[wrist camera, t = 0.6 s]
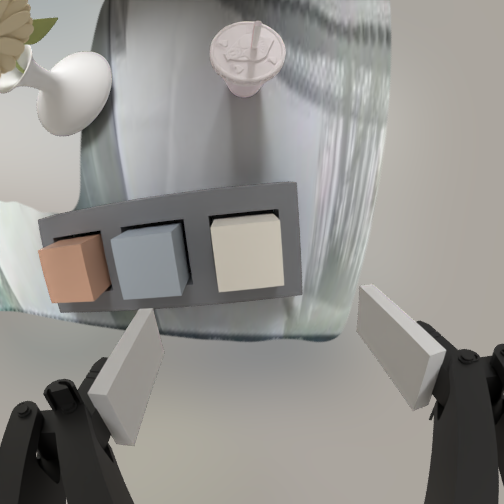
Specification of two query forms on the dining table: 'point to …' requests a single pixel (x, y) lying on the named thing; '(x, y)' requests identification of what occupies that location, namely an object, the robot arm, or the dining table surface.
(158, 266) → the key slate
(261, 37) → the smoothie
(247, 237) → the key cream
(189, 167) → the dining table surface
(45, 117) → the flower in vase
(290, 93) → the dining table surface
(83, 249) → the key terracotta
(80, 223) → the console
